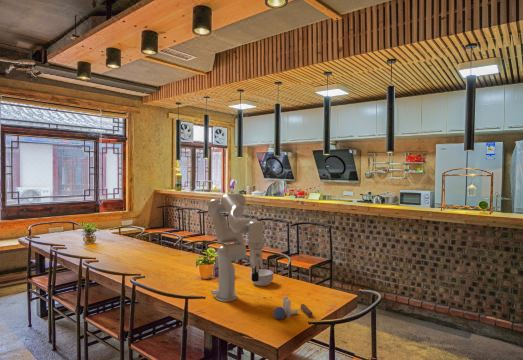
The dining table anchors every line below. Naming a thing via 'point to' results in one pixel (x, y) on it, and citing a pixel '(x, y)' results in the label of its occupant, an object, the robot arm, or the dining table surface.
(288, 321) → the dining table surface
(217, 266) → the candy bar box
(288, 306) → the back right pin
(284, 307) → the back left pin
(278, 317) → the ball
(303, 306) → the wall
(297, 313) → the front pin
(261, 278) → the paper bowls
